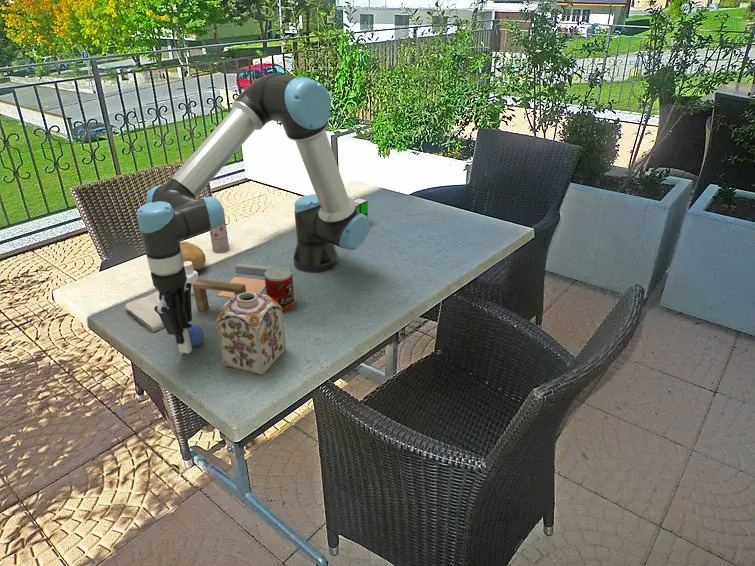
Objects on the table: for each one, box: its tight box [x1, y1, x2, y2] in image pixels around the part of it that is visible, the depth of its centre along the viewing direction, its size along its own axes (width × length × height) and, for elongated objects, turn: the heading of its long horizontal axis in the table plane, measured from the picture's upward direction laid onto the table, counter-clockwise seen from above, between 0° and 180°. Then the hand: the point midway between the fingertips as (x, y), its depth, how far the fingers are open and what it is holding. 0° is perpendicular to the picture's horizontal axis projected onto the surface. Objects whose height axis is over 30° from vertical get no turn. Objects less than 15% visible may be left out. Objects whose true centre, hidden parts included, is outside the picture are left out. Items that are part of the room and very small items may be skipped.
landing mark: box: [217, 276, 266, 298], centre depth 167 cm, size 12×12×1 cm
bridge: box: [192, 278, 246, 313], centre depth 153 cm, size 3×14×9 cm, turn 77°
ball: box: [188, 324, 205, 347], centre depth 140 cm, size 6×6×6 cm
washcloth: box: [124, 290, 188, 333], centre depth 154 cm, size 12×18×3 cm, turn 48°
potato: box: [180, 241, 207, 271], centre depth 177 cm, size 10×14×8 cm
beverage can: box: [209, 219, 230, 254], centre depth 188 cm, size 6×6×15 cm
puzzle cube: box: [347, 195, 369, 218], centre depth 208 cm, size 10×10×10 cm
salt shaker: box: [184, 261, 200, 295], centre depth 163 cm, size 4×4×10 cm
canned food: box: [264, 266, 296, 313], centre depth 155 cm, size 8×8×11 cm
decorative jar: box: [215, 292, 287, 376], centre depth 132 cm, size 12×12×18 cm
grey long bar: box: [234, 262, 273, 277], centre depth 175 cm, size 14×2×2 cm, turn 77°
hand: (185, 350), depth 137 cm, fingers closed
